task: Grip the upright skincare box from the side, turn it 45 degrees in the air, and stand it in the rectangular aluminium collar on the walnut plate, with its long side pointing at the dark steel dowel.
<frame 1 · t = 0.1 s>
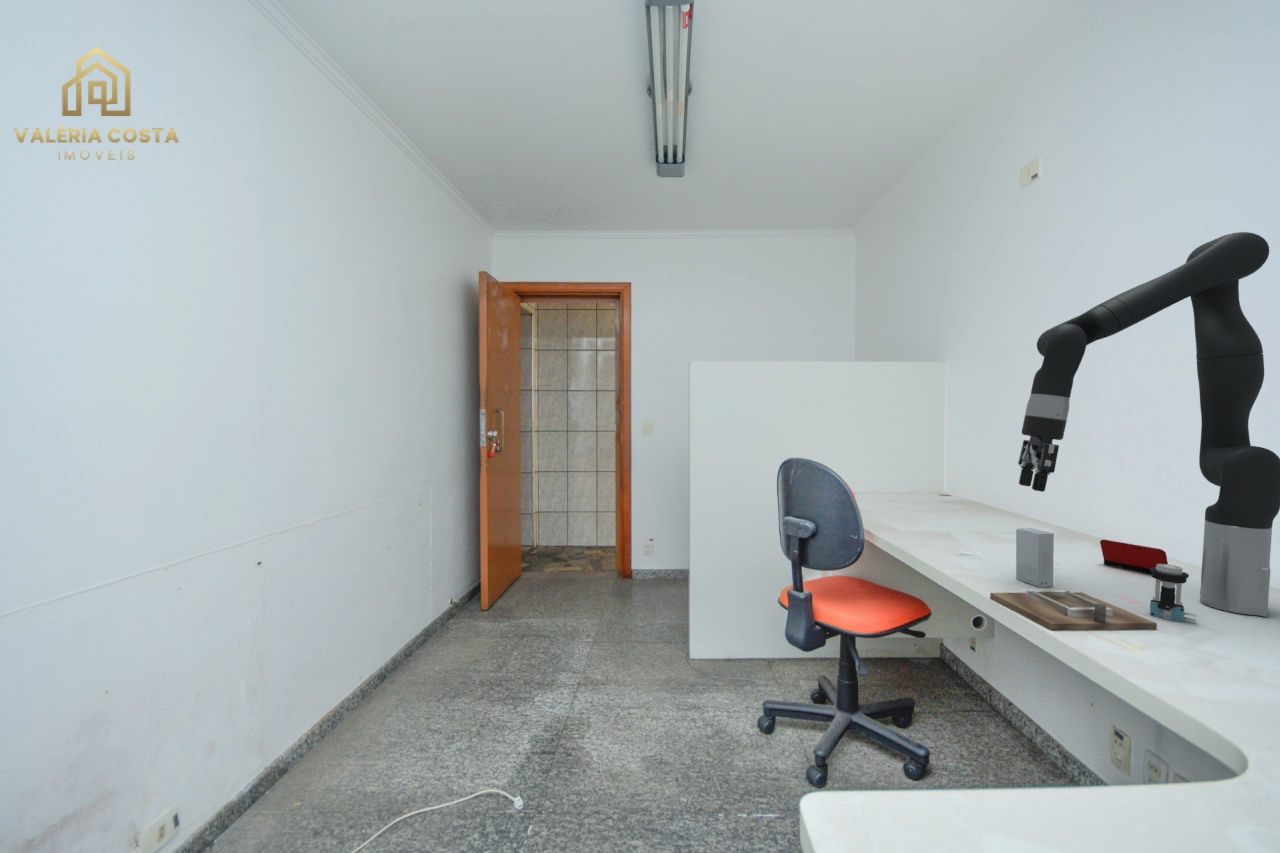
hand: (1030, 488, 121), 22 cm above the table, tool pointing down, fingers open, 8 cm apart
push button: (1171, 619, 105), on the table
keyed plate: (1067, 612, 107), on the table
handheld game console: (1137, 571, 136), on the table
skincare box: (1033, 583, 125), on the table
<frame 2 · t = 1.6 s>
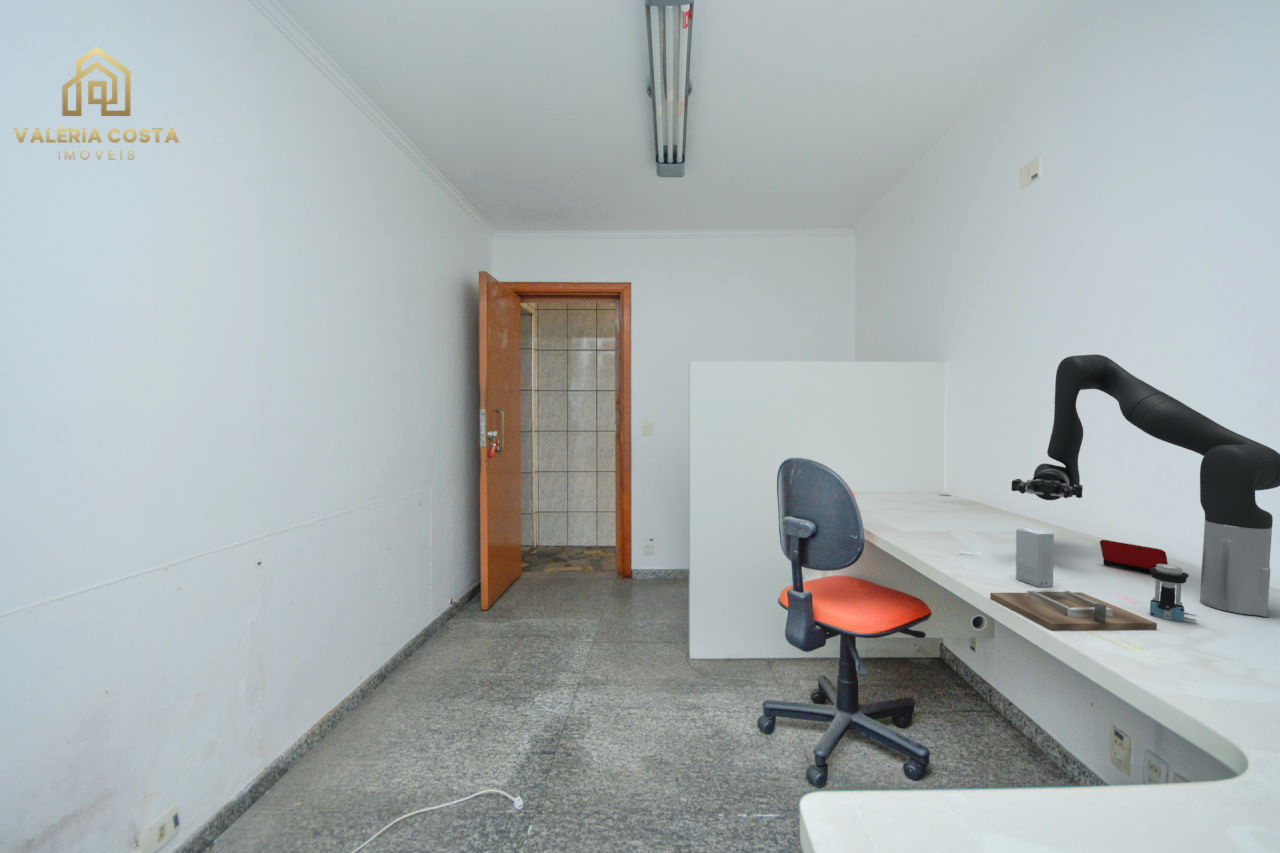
hand: (1043, 491, 132), 20 cm above the table, tool horizontal, fingers open, 8 cm apart
nothing on the table moved.
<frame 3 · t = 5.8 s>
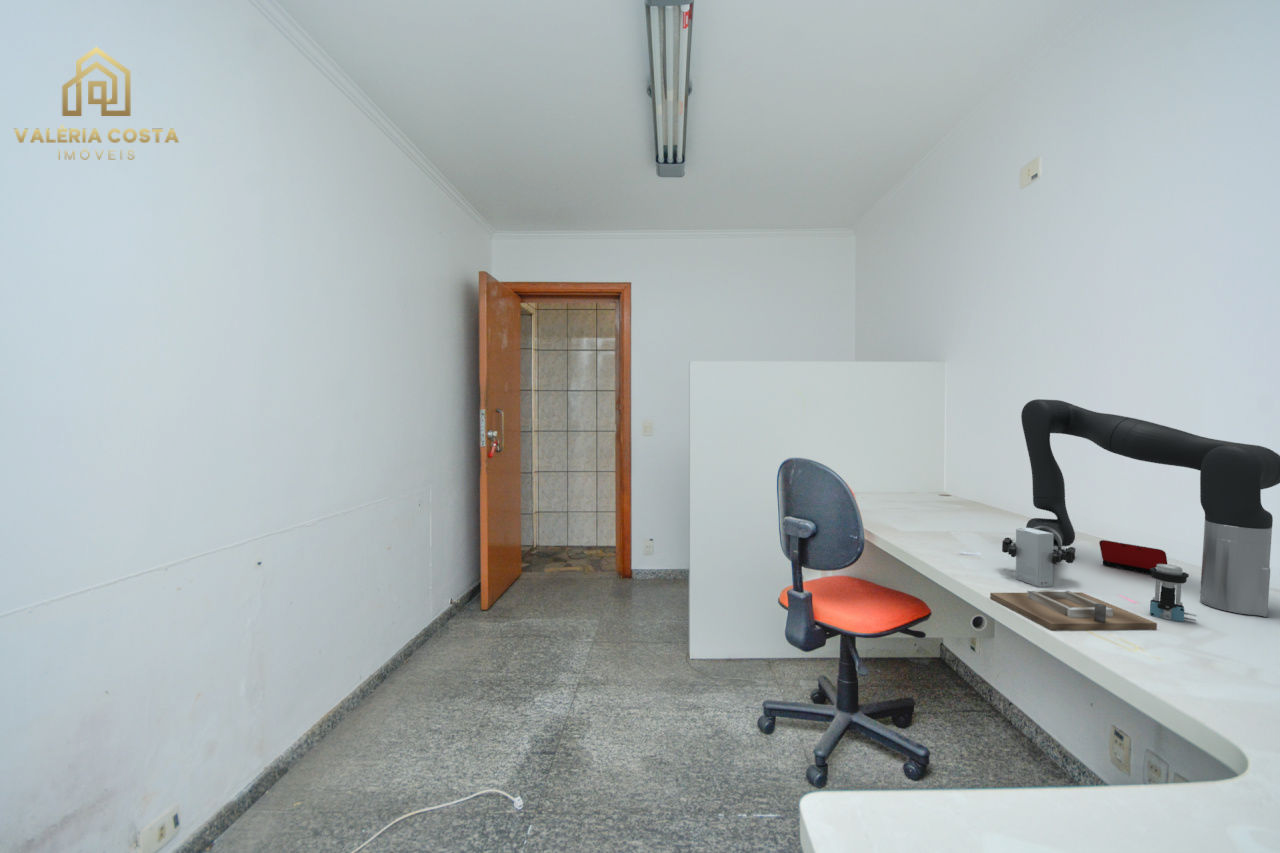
hand: (1033, 556, 123), 7 cm above the table, tool horizontal, fingers closed on skincare box, 7 cm apart
skincare box: (1033, 583, 125), on the table, touching gripper
when the fingers open (9 cm above the table, at t = 12.6 s): skincare box stays where it is, resting on keyed plate.
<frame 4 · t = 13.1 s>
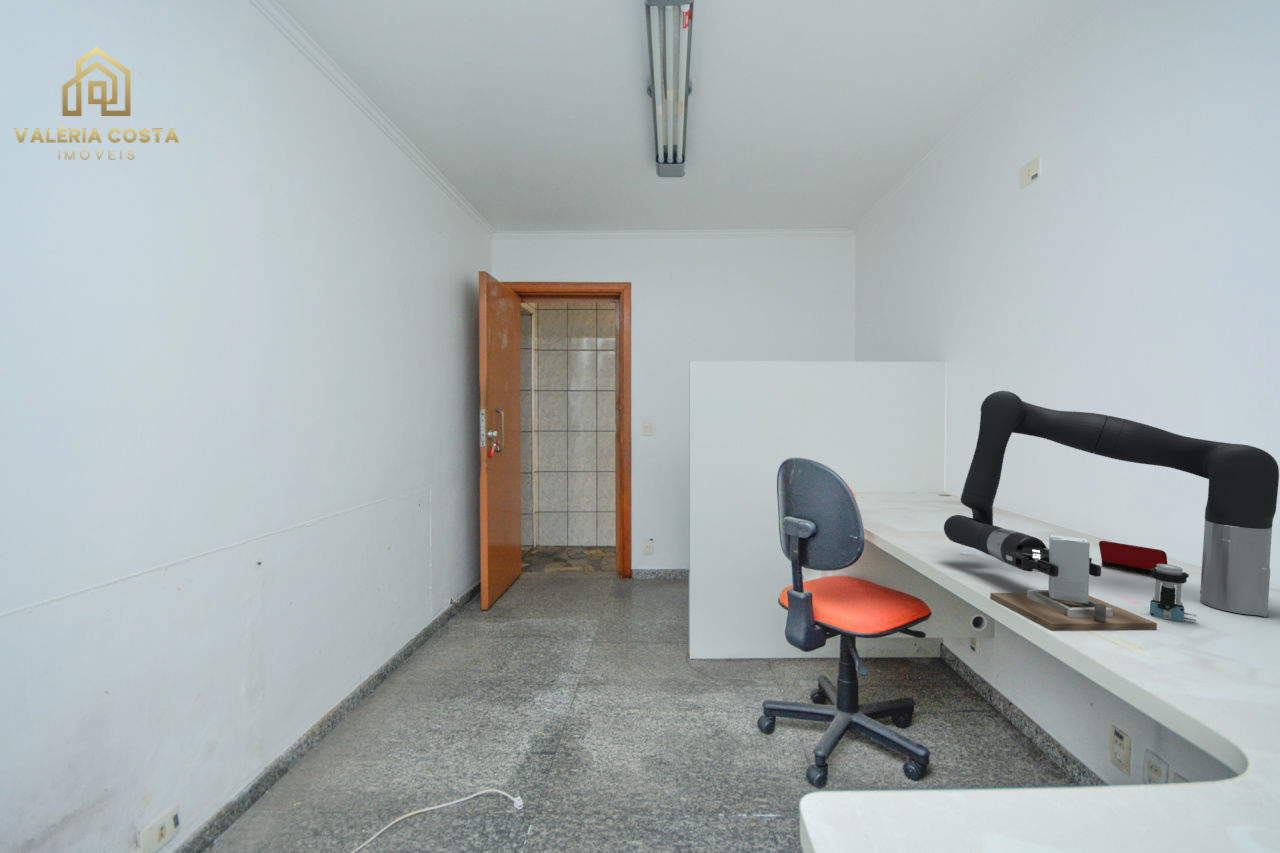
hand: (1078, 571, 104), 9 cm above the table, tool horizontal, fingers open, 8 cm apart
skincare box: (1066, 599, 107), point 3 cm above the table, touching keyed plate
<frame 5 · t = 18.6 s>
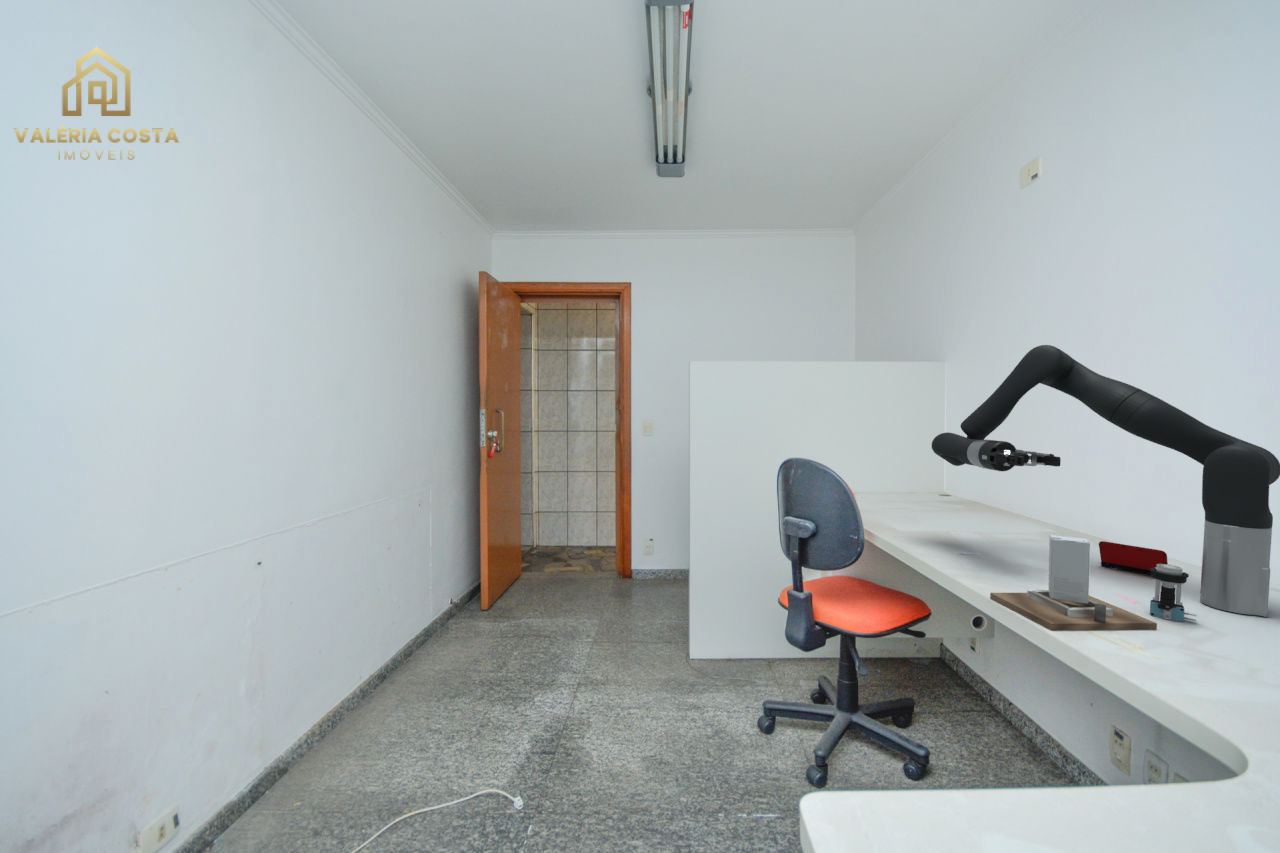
hand: (1041, 461, 123), 28 cm above the table, tool horizontal, fingers open, 8 cm apart
at the end: skincare box 0.2 cm off-centre on the keyed plate, point 2.5 cm above the keyed plate's base; skincare box tilted 0°; the gripper is holding nothing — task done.
